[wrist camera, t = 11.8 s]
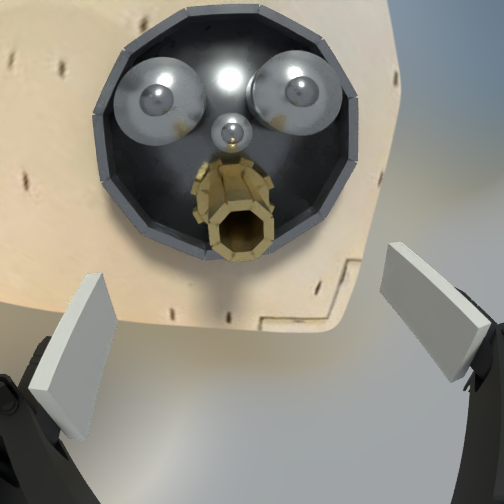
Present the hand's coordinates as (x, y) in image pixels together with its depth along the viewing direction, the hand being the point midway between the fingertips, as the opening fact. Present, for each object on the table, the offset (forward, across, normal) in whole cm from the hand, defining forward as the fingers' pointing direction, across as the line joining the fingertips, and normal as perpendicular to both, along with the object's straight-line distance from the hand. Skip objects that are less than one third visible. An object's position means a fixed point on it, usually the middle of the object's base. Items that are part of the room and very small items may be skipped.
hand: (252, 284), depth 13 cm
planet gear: (+17, 0, -1) cm, 17 cm away
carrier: (+19, 0, +6) cm, 19 cm away
